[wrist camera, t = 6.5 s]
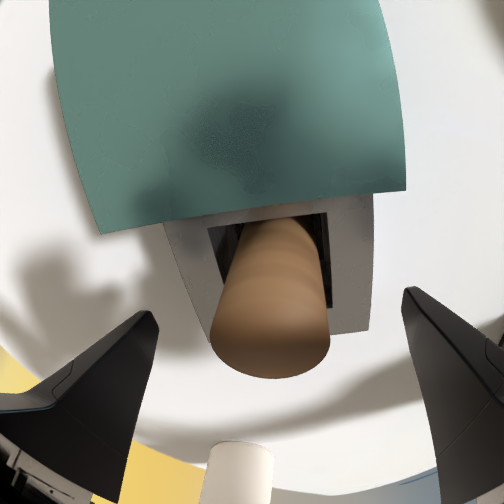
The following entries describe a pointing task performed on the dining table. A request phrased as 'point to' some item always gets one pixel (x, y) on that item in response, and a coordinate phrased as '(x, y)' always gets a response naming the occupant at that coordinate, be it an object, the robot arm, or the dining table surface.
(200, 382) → the dining table surface
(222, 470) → the alcohol
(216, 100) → the station
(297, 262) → the peg
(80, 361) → the robot arm
